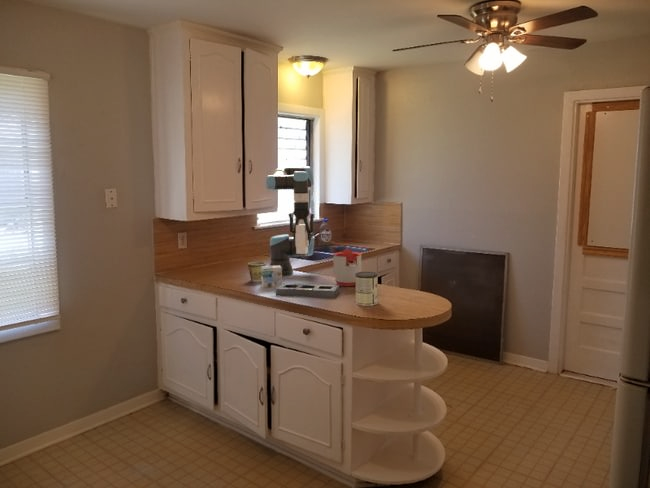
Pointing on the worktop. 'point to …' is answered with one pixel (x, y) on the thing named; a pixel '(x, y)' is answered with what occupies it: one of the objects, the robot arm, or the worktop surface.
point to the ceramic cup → (255, 270)
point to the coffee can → (366, 288)
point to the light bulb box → (271, 276)
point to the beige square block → (301, 239)
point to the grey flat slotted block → (308, 290)
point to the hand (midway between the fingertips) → (302, 245)
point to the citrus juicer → (346, 267)
